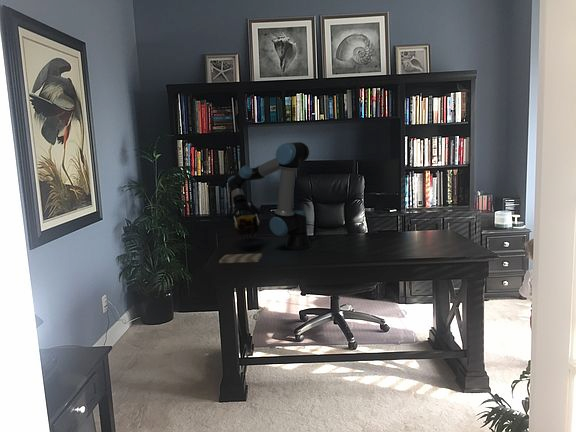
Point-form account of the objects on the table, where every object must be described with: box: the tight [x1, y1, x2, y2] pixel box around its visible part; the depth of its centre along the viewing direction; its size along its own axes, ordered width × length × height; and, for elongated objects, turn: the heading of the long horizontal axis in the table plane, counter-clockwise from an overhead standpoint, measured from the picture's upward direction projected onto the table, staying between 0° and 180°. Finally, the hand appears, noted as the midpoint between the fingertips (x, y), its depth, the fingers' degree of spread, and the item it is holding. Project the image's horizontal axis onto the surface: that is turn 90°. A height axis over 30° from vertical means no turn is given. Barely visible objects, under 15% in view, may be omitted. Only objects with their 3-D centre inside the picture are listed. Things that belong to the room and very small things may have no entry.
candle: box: [236, 214, 259, 236], centre depth 293 cm, size 10×10×10 cm
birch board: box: [218, 253, 263, 264], centre depth 283 cm, size 22×14×2 cm, turn 82°
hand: (247, 225), depth 293 cm, fingers closed on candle, 13 cm apart
